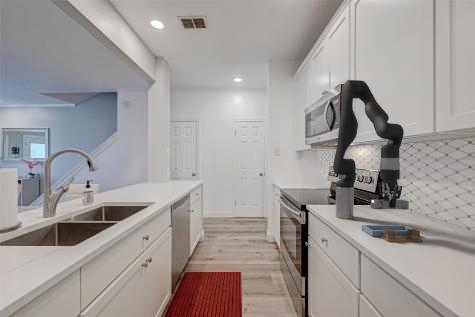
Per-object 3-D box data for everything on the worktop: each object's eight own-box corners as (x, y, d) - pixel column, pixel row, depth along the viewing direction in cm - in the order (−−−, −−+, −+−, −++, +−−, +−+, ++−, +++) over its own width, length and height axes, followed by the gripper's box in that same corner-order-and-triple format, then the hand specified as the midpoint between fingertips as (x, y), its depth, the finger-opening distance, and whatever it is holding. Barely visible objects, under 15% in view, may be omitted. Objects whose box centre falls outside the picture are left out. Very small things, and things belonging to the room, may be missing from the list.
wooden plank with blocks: (380, 237, 103) (380, 228, 103) (413, 237, 103) (413, 228, 103) (388, 241, 98) (388, 231, 98) (422, 242, 98) (422, 232, 98)
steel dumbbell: (368, 207, 111) (368, 199, 111) (403, 207, 111) (403, 199, 111) (374, 209, 106) (374, 201, 106) (411, 209, 106) (411, 201, 106)
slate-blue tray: (361, 230, 113) (361, 224, 113) (404, 230, 113) (404, 225, 113) (372, 236, 104) (372, 230, 104) (419, 237, 104) (419, 231, 104)
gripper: (372, 167, 115) (372, 203, 115) (391, 169, 101) (391, 210, 101) (388, 167, 115) (388, 203, 115) (409, 169, 101) (409, 210, 101)
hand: (389, 206), depth 108 cm, fingers closed on steel dumbbell, 4 cm apart
